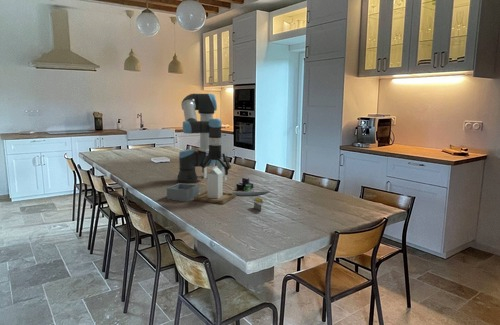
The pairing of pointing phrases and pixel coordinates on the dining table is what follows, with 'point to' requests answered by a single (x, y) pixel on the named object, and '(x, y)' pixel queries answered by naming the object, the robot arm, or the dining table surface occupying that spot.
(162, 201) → the dining table surface
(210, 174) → the milk carton
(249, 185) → the mineral sample
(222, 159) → the coffee maker
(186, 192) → the bin
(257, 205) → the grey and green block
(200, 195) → the tray
